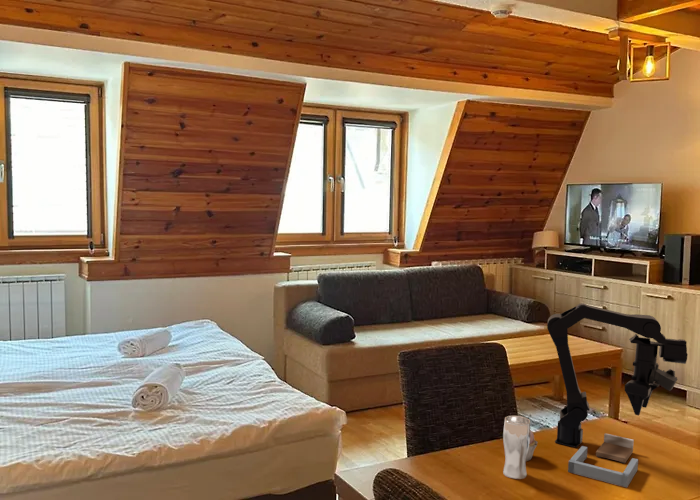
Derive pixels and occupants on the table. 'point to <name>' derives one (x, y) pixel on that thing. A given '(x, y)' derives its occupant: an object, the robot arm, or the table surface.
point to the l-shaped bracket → (615, 448)
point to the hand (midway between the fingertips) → (640, 411)
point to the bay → (601, 470)
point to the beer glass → (516, 446)
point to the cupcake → (531, 446)
